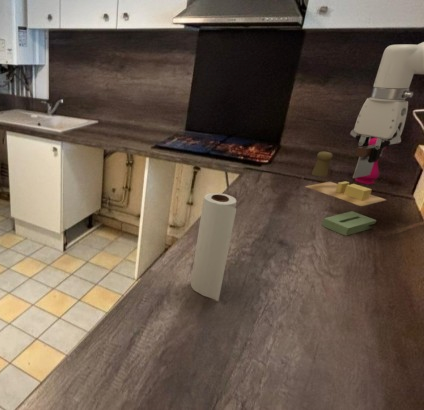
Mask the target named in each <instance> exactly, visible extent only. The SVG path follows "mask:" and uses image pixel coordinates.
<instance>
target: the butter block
mask: <svg viewBox="0 0 424 410" xmlns="http://www.w3.org/2000/svg"><path fill="white" fill-rule="evenodd" d="M372 190H373V189H372V188H369V187H366V186H363V185H359V184H356V183H351V184H349V185H347V186H346V189H345V192H344V195H347V196H349V197H352V198H355V199H358V200H361V201H362V200H366V199H369V197H370V195H372Z"/></svg>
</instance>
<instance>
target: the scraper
mask: <svg viewBox="0 0 424 410" xmlns="http://www.w3.org/2000/svg"><path fill="white" fill-rule="evenodd" d="M375 145H376V144H374V145H368V146H362V147H360V146H358V147H357V148H356V150H355V154H354V156H355V157H359V159H358V160H357V163H356V166H355V169H354V172H353V175H352V179H355V178H358V177H362V176H367V175H370V173H371V171H372V168H373V165H374V162H372V163H369V162H368V159H369V156H370V154H371V151H372V149H374V148H375ZM383 149H384V148H383ZM383 149H382V151H381V154H382V155H383V153H382V152H384V150H385V149H384V150H383Z"/></svg>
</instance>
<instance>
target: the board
mask: <svg viewBox="0 0 424 410" xmlns="http://www.w3.org/2000/svg"><path fill="white" fill-rule="evenodd" d="M337 185H338V183H336V182H333V181H325V182H320V183H316V184H310V185H305V188H308V189H311V190H314V191H316V192H319V193H323V194H325V195H327V196H330V197H334V198H336V199H340V200H342V201H345V202H348V203H350V204H353V205H356V206H360V207H365V206H369V205H373V204H376V203H381V202H384V201H387V198H386V199H385V198H383V197H379V196H377V195H373V194H370V197H369V199H366V200H362V201H361V200H358V199H355V198H352V197H349V196H347V195H344V192H342V193H338V192H336V189H337Z"/></svg>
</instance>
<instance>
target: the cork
mask: <svg viewBox="0 0 424 410" xmlns="http://www.w3.org/2000/svg"><path fill="white" fill-rule="evenodd" d="M332 159H333V153H332V152H330V151H319V152H318V153H317V155H316V162H315V165H314V167H313V169H312V171H311V173H310V174H311V175H312V176H314V177H319V178H328V175H329V170H330V169H329V167H330V162H331V160H332Z"/></svg>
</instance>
